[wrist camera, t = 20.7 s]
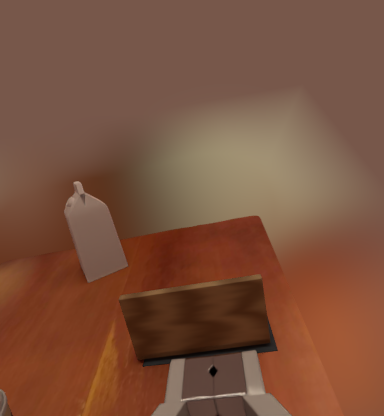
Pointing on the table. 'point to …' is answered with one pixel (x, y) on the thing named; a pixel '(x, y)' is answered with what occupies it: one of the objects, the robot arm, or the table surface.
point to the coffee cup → (4, 405)
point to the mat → (216, 352)
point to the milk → (93, 235)
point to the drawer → (197, 317)
